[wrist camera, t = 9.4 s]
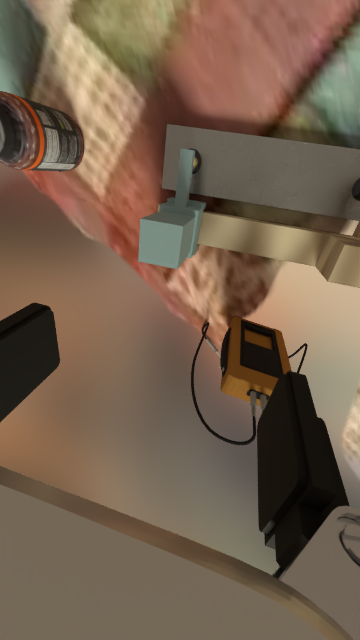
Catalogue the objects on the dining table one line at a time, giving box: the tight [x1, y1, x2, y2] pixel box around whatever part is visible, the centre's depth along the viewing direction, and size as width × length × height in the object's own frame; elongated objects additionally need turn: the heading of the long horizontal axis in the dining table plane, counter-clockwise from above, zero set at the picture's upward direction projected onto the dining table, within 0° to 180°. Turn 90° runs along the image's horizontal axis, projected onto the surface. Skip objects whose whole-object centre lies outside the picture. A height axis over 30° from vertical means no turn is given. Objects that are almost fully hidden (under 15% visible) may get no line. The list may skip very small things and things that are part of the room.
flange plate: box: [162, 124, 360, 221], centre depth 27 cm, size 24×6×1 cm, turn 84°
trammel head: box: [139, 149, 207, 269], centre depth 25 cm, size 4×10×12 cm, turn 174°
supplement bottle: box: [0, 91, 84, 172], centre depth 26 cm, size 6×6×11 cm
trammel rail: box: [158, 204, 360, 288], centre depth 26 cm, size 24×9×7 cm, turn 84°
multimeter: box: [191, 316, 307, 445], centre depth 30 cm, size 15×10×20 cm
